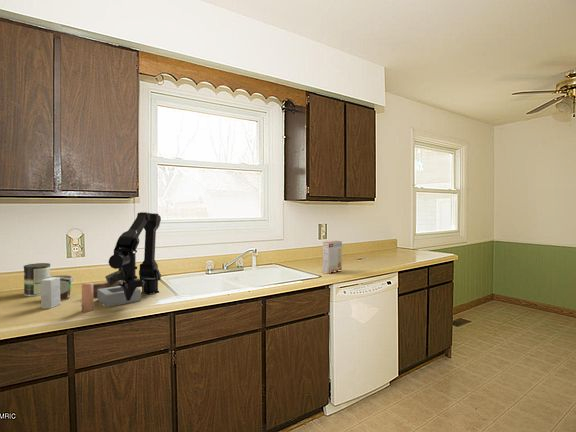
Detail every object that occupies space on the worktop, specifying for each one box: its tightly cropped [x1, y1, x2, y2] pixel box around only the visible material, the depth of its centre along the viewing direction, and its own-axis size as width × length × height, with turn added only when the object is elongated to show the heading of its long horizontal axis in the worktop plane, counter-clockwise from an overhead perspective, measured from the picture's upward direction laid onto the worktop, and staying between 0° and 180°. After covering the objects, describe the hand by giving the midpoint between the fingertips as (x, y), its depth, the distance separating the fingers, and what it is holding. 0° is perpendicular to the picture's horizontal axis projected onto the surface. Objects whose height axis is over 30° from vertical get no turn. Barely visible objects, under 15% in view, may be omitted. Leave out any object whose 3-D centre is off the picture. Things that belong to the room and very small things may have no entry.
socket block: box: [96, 286, 142, 308], centre depth 147 cm, size 14×14×5 cm
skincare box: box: [40, 277, 61, 310], centre depth 137 cm, size 6×4×12 cm
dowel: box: [81, 282, 94, 313], centre depth 132 cm, size 4×4×11 cm
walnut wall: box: [93, 281, 120, 299], centre depth 156 cm, size 18×2×6 cm, turn 135°
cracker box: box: [322, 240, 343, 274], centre depth 219 cm, size 14×6×21 cm, turn 133°
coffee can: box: [23, 262, 51, 297], centre depth 157 cm, size 10×10×14 cm
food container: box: [44, 274, 74, 301], centre depth 150 cm, size 12×6×10 cm, turn 92°
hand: (128, 300), depth 139 cm, fingers closed
